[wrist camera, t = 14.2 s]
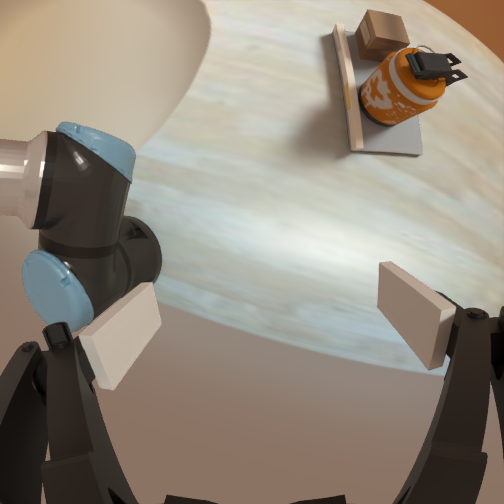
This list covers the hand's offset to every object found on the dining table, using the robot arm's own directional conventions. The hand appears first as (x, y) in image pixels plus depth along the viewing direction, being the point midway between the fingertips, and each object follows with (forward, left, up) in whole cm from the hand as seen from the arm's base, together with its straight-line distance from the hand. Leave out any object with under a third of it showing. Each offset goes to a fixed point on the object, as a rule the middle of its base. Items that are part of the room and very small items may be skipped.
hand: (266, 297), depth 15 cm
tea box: (+21, +33, -30) cm, 49 cm away
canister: (+21, +21, -30) cm, 42 cm away
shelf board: (+21, +24, -31) cm, 45 cm away
